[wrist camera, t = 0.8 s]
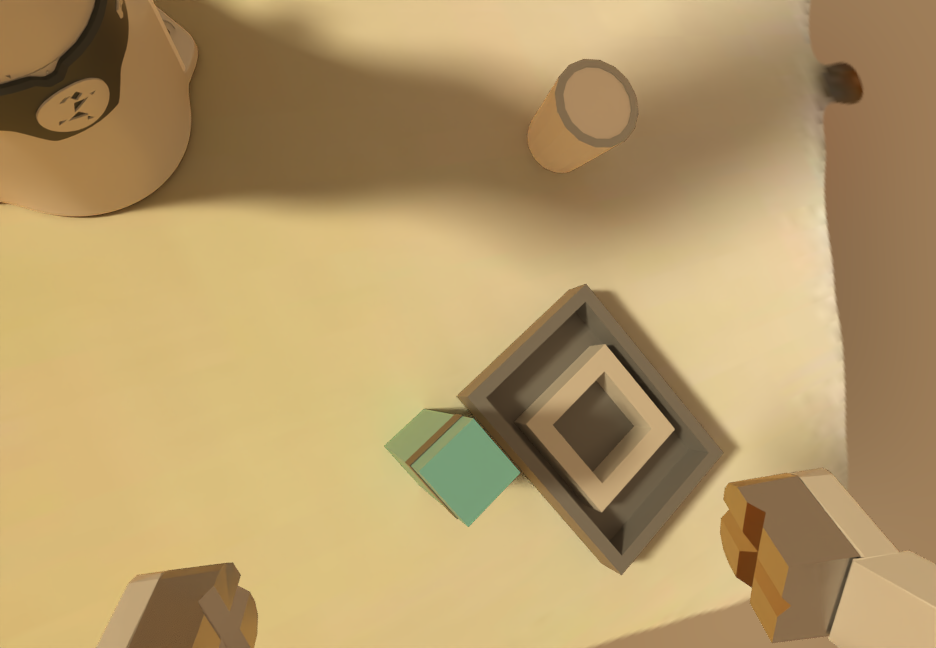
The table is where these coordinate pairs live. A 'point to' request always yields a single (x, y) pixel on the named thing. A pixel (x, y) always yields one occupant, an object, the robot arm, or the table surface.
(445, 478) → the plug
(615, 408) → the grey tray
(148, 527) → the table surface
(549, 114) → the beige cylinder
